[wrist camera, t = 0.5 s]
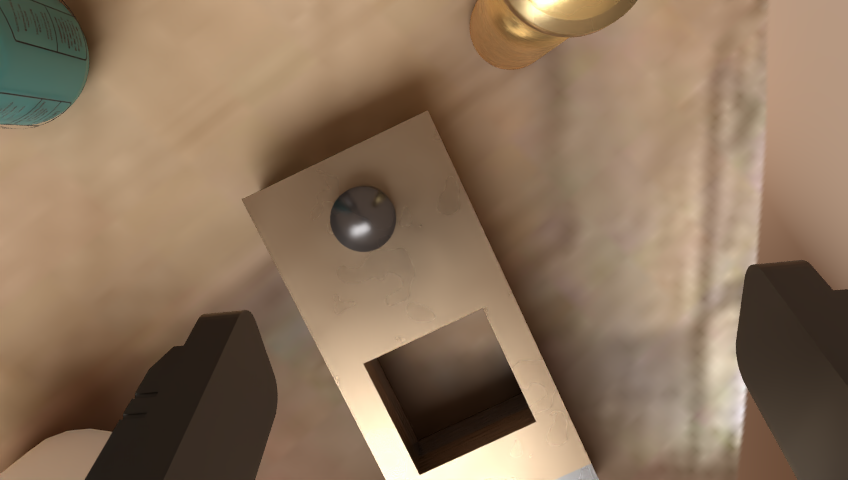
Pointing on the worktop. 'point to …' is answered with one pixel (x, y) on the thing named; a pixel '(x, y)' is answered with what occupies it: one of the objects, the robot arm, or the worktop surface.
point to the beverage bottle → (39, 61)
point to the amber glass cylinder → (536, 26)
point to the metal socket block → (411, 303)
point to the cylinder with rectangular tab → (60, 457)
